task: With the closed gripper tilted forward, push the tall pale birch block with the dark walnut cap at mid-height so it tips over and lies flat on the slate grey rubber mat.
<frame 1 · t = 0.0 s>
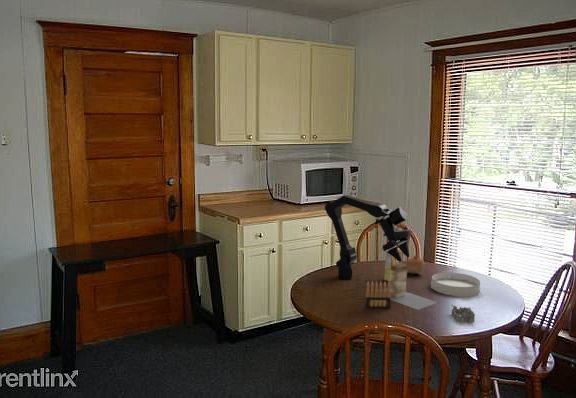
hand: (404, 259, 243), 15 cm above the table, tool tilted 35°, fingers open, 9 cm apart
dark green lumpy clump: (463, 318, 213), on the table
candy box: (393, 280, 261), on the table
onion: (414, 274, 271), on the table
rubber mat: (404, 298, 235), on the table
ammunition clip: (377, 308, 223), on the table
dish: (455, 290, 248), on the table
birch block: (397, 295, 237), resting on rubber mat
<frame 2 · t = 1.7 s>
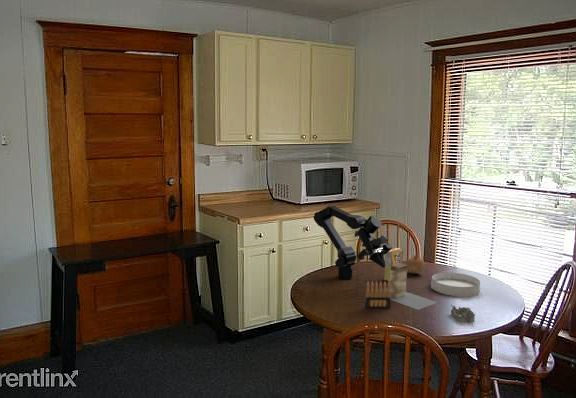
hand: (384, 267, 242), 12 cm above the table, tool tilted 45°, fingers closed
nothing on the table moved.
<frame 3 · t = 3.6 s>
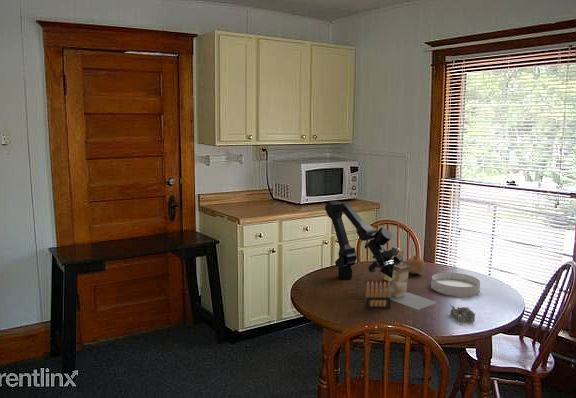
hand: (395, 279, 237), 7 cm above the table, tool tilted 45°, fingers closed
birch block: (397, 295, 237), point 1 cm above the table, tilted 6°, touching rubber mat
everything else where it was.
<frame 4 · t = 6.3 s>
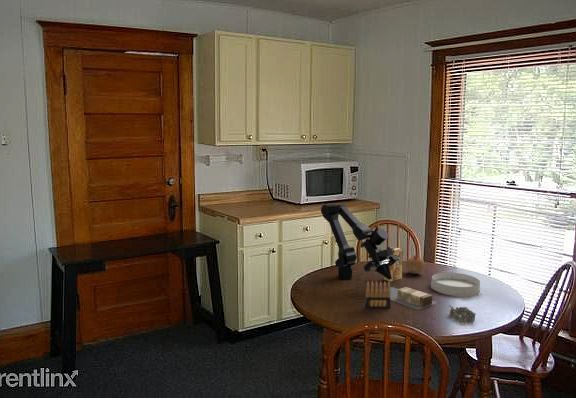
hand: (390, 279, 240), 7 cm above the table, tool tilted 45°, fingers closed
birch block: (401, 292, 235), point 2 cm above the table, tilted 90°, touching rubber mat
everything else where it was.
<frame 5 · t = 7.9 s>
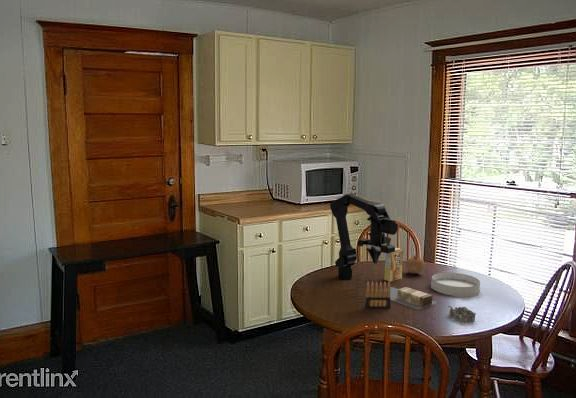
hand: (375, 263, 246), 12 cm above the table, tool pointing down, fingers closed
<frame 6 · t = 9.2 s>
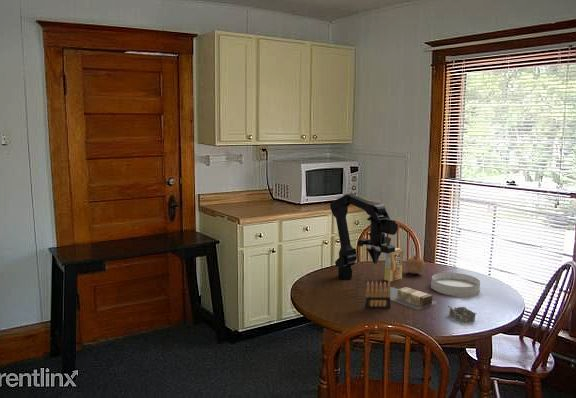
hand: (375, 263, 246), 12 cm above the table, tool pointing down, fingers closed
at the end: birch block tilted 90°; birch block inside the target area (0.7 cm from its centre), point 2.4 cm above the table; birch block touching rubber mat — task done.
